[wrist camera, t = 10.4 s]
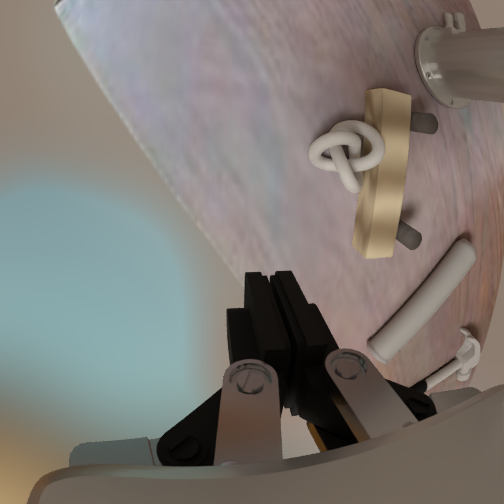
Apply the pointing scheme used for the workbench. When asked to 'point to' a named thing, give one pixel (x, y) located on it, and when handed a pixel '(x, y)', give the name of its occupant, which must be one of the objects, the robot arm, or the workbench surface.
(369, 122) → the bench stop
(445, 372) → the claw hammer
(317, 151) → the knot
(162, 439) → the robot arm
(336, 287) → the workbench surface
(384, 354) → the tube
